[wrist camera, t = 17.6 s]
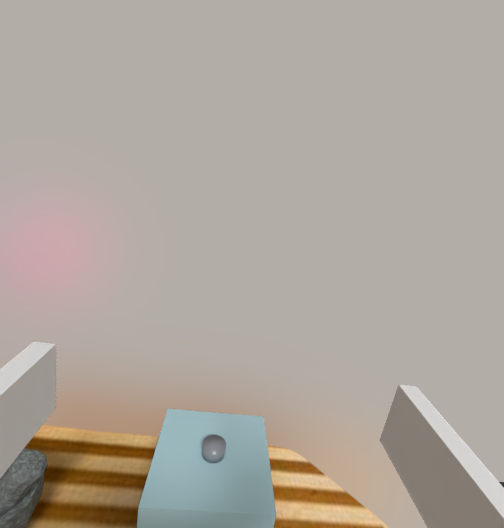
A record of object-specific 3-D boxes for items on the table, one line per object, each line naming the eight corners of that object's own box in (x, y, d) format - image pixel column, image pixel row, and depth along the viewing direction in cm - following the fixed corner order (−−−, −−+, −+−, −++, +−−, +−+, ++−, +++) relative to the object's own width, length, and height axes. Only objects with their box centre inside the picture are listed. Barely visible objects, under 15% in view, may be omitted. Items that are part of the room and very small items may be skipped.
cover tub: (132, 591, 28) (139, 496, 26) (161, 474, 40) (168, 400, 37) (259, 595, 29) (278, 504, 27) (252, 480, 41) (265, 408, 38)
